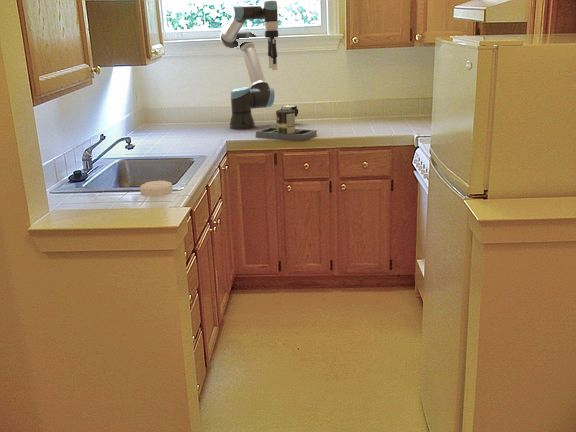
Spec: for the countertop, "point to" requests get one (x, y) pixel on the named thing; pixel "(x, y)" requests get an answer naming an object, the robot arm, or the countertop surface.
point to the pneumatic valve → (290, 108)
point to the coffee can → (285, 121)
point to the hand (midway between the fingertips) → (273, 69)
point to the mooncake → (156, 188)
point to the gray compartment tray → (287, 134)
